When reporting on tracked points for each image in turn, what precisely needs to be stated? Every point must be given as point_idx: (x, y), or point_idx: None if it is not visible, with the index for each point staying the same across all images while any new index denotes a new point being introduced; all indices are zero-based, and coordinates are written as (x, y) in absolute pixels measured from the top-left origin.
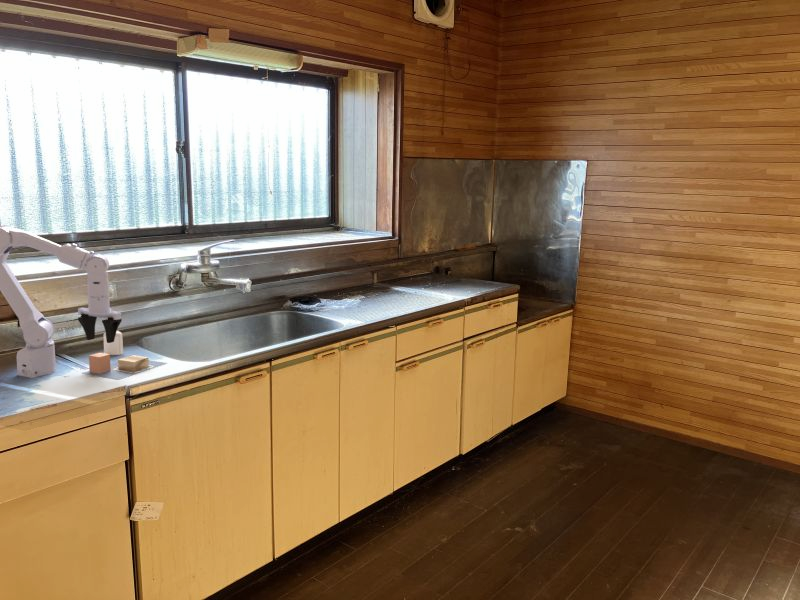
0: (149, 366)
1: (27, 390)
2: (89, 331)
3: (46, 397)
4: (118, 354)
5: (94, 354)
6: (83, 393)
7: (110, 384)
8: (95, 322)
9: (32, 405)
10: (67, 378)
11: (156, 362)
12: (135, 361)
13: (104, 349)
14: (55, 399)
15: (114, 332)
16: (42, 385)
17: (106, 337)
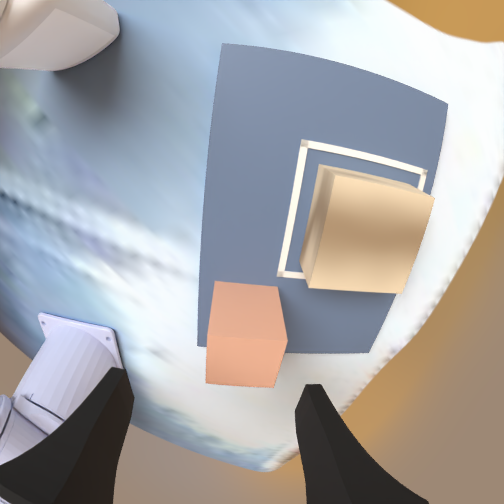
0: (407, 174)
1: (184, 430)
2: (116, 440)
3: (260, 441)
4: (109, 38)
5: (214, 366)
6: None
7: (349, 363)
8: (77, 466)
9: (269, 458)
10: (180, 365)
11: (402, 99)
12: (405, 283)
13: (34, 69)
14: (286, 442)
15: (343, 442)
16: (179, 410)
17: (302, 446)
